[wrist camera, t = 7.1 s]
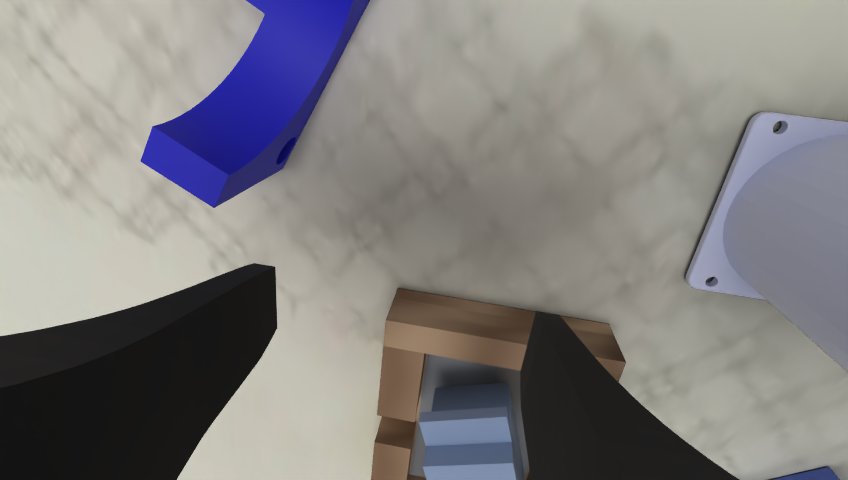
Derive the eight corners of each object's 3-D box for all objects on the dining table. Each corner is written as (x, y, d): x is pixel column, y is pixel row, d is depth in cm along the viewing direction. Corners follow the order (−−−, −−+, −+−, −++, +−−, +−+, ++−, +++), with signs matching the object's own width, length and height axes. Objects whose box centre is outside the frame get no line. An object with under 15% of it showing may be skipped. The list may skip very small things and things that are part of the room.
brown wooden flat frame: (609, 324, 22) (626, 362, 19) (546, 504, 28) (552, 553, 25) (398, 288, 23) (385, 319, 20) (379, 470, 29) (368, 513, 26)
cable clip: (313, -161, 16) (224, -270, 11) (414, -84, 17) (378, -149, 11) (203, 115, 21) (102, 137, 15) (283, 168, 21) (214, 207, 16)
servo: (503, 359, 23) (508, 453, 17) (526, 481, 26) (536, 591, 21) (429, 366, 23) (412, 457, 18) (460, 483, 27) (453, 590, 21)
